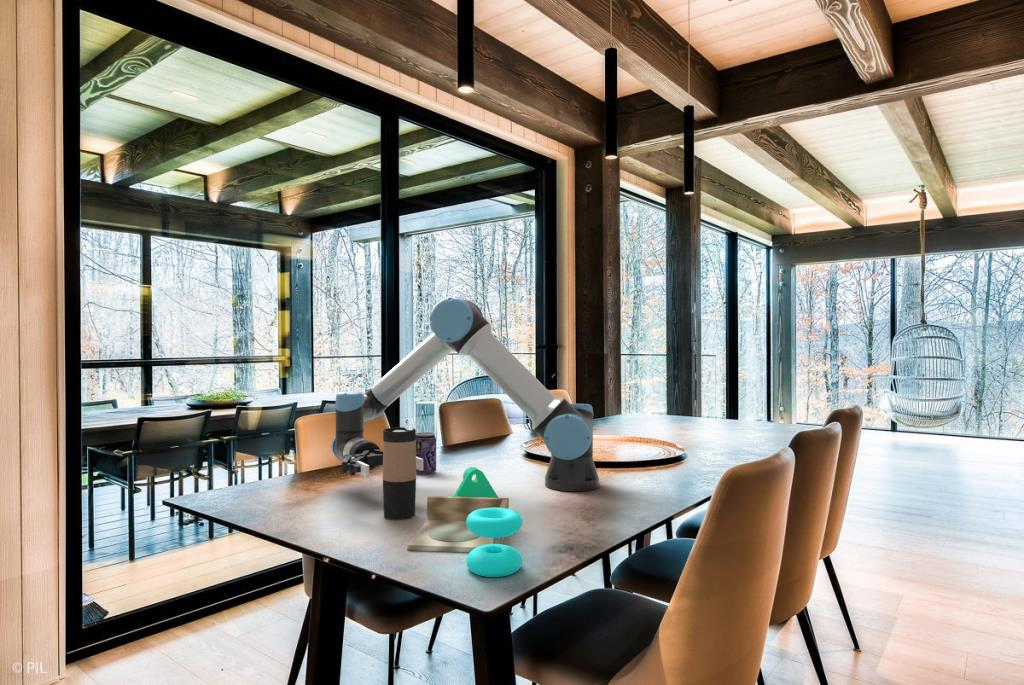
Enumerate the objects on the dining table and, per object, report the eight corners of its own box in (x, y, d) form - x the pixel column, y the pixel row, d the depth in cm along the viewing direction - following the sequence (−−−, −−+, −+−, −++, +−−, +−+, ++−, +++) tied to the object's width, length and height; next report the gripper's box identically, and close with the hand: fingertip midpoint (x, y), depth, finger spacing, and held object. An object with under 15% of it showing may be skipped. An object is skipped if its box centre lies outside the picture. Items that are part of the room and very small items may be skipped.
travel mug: (384, 521, 139) (384, 432, 139) (381, 512, 146) (381, 427, 146) (418, 518, 141) (418, 431, 141) (413, 509, 148) (414, 426, 148)
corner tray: (508, 525, 136) (508, 498, 136) (499, 553, 118) (499, 522, 118) (428, 522, 138) (428, 495, 138) (407, 550, 120) (407, 519, 120)
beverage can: (420, 476, 185) (420, 436, 185) (408, 472, 190) (408, 433, 190) (440, 473, 189) (440, 434, 189) (428, 469, 195) (428, 431, 195)
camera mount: (488, 502, 156) (488, 461, 156) (499, 510, 149) (499, 467, 149) (442, 507, 151) (442, 465, 151) (451, 515, 144) (452, 471, 144)
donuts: (458, 518, 107) (476, 504, 116) (458, 576, 107) (476, 557, 116) (514, 523, 104) (527, 507, 114) (514, 582, 104) (527, 561, 114)
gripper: (406, 463, 169) (443, 477, 151) (314, 474, 155) (343, 491, 137) (406, 435, 169) (443, 446, 151) (314, 444, 155) (343, 457, 137)
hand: (395, 468), depth 144 cm, fingers open, 13 cm apart
